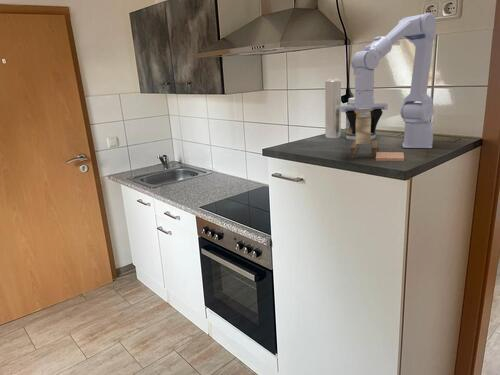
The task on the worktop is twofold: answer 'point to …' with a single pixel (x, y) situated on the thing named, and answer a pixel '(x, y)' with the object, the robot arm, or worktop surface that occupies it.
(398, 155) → the terracotta tile
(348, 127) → the supplement tub
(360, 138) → the birch block
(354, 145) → the slot rack
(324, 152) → the worktop surface
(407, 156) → the worktop surface
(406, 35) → the robot arm
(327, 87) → the air filter
